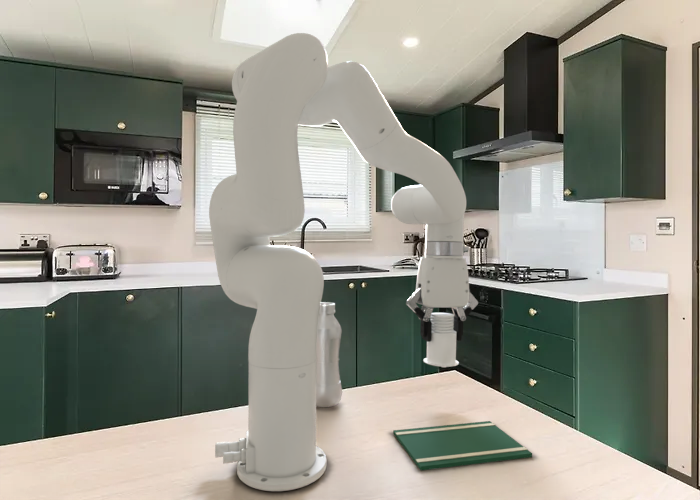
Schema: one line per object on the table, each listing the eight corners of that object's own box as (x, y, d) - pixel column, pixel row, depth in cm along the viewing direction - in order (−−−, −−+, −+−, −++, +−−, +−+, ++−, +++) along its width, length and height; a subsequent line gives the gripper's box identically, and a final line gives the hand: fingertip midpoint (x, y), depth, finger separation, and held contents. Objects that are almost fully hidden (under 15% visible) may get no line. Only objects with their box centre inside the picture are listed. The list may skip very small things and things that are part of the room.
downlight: (463, 369, 85) (464, 318, 85) (426, 368, 85) (428, 317, 85) (453, 358, 93) (455, 311, 93) (420, 357, 93) (421, 310, 93)
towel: (420, 470, 62) (420, 465, 62) (393, 433, 74) (393, 429, 74) (532, 457, 66) (532, 452, 66) (489, 424, 78) (489, 420, 78)
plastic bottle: (338, 412, 83) (338, 306, 82) (303, 409, 84) (304, 305, 84) (345, 400, 89) (346, 301, 89) (313, 397, 90) (313, 300, 90)
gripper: (473, 251, 95) (471, 335, 95) (397, 249, 91) (395, 337, 91) (492, 252, 87) (489, 342, 88) (410, 250, 83) (408, 345, 84)
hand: (441, 338), depth 89 cm, fingers closed on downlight, 5 cm apart
